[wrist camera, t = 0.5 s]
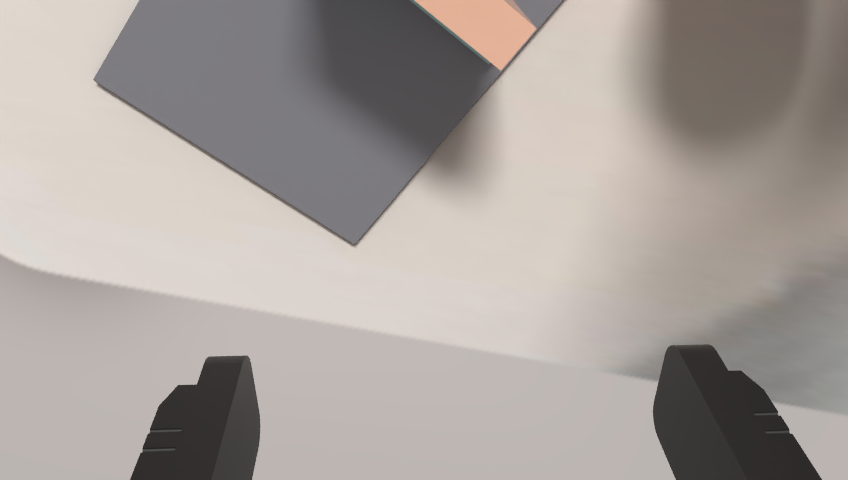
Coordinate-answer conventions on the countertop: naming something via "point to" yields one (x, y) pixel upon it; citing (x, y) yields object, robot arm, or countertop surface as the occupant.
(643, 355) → the countertop surface
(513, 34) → the tile
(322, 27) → the mat
